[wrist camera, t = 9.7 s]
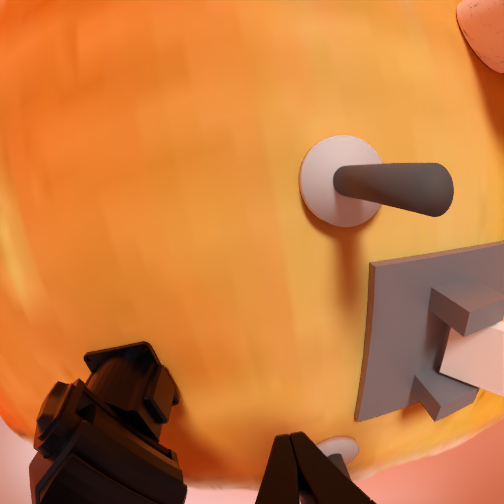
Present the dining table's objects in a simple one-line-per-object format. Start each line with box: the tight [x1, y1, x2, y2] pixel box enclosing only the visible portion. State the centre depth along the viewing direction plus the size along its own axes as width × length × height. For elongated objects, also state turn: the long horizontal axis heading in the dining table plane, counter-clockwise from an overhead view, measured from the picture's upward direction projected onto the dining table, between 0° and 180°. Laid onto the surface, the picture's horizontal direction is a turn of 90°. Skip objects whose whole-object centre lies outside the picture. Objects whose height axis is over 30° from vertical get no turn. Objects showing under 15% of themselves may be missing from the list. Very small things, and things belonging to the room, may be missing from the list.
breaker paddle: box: [440, 321, 504, 397], centre depth 17 cm, size 2×6×10 cm, turn 6°
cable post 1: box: [315, 436, 359, 480], centre depth 21 cm, size 6×6×10 cm
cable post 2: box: [298, 135, 454, 227], centre depth 14 cm, size 6×6×10 cm
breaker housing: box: [354, 241, 504, 422], centre depth 20 cm, size 18×16×6 cm
